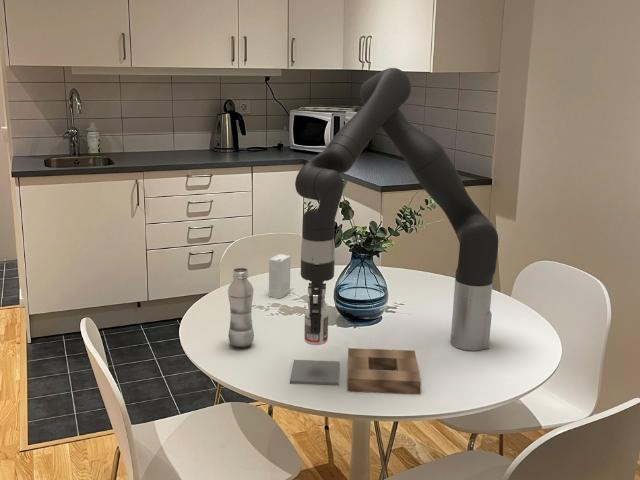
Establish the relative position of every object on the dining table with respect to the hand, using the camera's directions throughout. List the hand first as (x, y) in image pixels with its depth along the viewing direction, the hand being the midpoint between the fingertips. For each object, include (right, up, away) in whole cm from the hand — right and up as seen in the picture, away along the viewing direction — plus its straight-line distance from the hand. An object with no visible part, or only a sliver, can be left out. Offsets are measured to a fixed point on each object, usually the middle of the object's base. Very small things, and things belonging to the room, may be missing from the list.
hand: (316, 327), depth 162 cm
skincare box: (-11, +3, +53) cm, 54 cm away
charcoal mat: (0, -11, +3) cm, 11 cm away
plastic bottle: (-19, -7, +17) cm, 27 cm away
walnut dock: (+15, -12, +2) cm, 19 cm away
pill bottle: (0, -4, +1) cm, 4 cm away
